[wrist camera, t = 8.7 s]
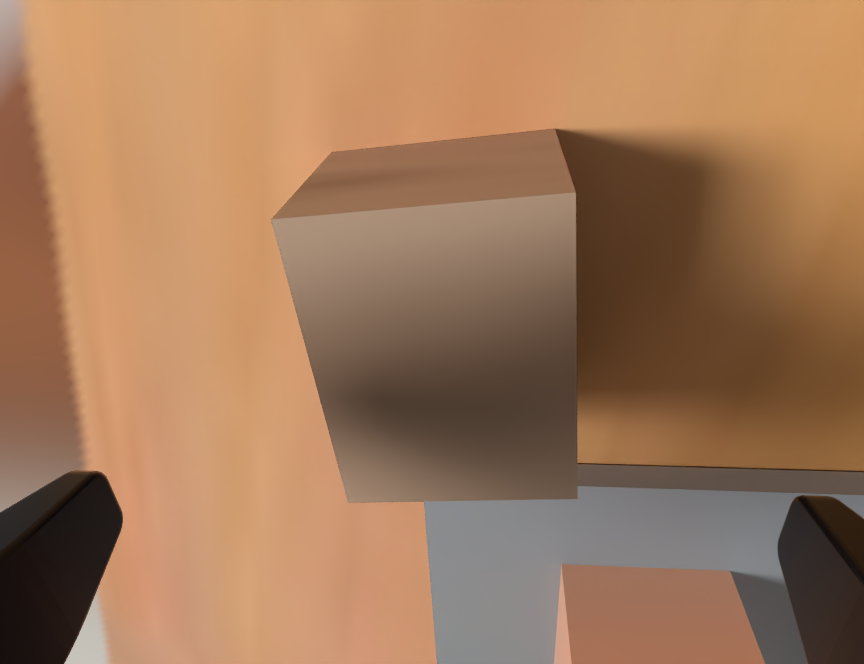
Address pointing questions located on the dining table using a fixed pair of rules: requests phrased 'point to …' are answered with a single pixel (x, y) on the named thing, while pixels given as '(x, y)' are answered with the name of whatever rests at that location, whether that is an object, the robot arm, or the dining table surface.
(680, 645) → the terracotta brick
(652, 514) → the baseplate
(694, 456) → the dining table surface
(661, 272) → the dining table surface
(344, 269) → the walnut brick
